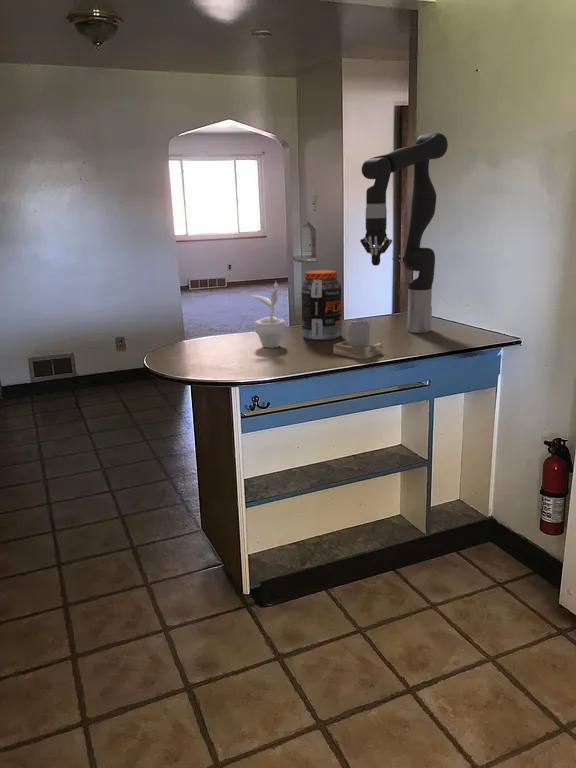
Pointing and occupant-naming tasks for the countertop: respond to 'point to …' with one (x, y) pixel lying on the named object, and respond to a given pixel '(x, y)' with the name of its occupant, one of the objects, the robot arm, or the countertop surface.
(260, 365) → the countertop surface
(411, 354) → the countertop surface
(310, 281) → the supplement tub
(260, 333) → the potted plant
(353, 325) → the can
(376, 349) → the tray
